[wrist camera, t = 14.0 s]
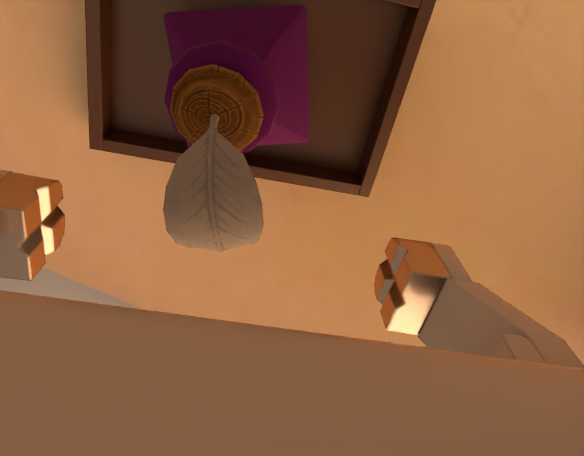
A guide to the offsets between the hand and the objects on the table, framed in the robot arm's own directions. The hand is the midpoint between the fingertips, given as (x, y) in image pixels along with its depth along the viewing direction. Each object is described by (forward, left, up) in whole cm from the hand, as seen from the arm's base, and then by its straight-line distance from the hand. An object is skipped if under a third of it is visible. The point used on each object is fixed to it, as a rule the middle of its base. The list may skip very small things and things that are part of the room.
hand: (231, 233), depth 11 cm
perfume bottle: (+1, 0, -19) cm, 19 cm away
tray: (0, 0, -20) cm, 20 cm away
